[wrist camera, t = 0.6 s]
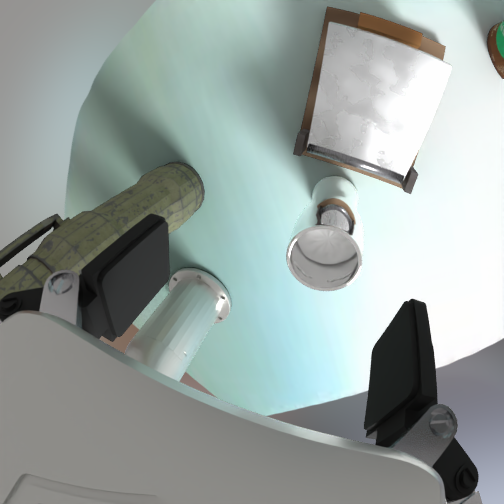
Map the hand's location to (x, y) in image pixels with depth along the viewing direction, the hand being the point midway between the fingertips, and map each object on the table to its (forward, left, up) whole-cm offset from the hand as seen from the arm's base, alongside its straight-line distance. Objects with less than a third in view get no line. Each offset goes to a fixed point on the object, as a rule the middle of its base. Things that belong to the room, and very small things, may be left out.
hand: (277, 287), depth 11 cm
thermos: (-12, +20, -28) cm, 36 cm away
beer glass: (-7, -2, -28) cm, 29 cm away
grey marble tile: (+7, -3, -21) cm, 23 cm away
